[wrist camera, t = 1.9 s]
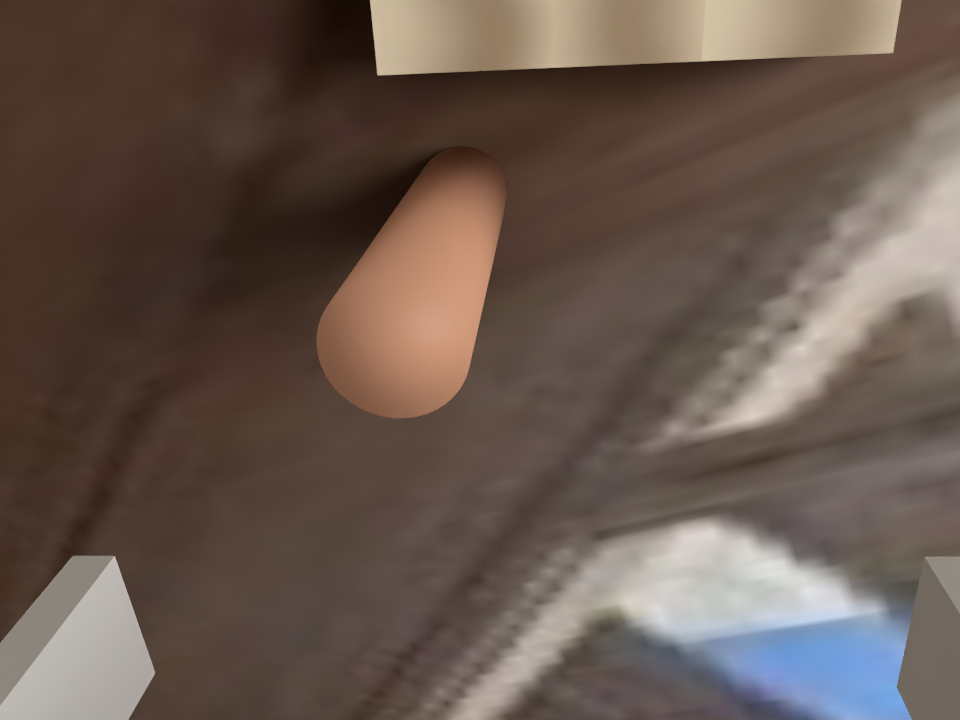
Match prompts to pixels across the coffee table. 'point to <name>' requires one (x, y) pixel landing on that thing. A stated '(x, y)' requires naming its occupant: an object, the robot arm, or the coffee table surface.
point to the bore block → (619, 32)
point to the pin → (418, 291)
